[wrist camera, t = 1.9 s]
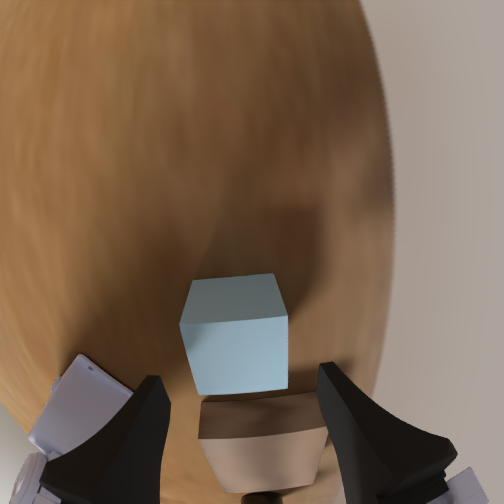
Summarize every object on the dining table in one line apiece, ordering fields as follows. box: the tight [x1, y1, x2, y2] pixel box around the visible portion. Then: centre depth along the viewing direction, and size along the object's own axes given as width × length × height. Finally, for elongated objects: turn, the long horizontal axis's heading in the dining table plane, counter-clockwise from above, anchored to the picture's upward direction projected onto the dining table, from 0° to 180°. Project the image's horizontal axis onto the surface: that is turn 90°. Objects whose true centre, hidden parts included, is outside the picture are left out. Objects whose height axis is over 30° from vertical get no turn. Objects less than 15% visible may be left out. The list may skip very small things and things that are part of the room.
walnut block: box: [198, 391, 328, 493], centre depth 21 cm, size 10×14×4 cm
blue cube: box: [179, 273, 288, 395], centre depth 15 cm, size 5×5×5 cm
